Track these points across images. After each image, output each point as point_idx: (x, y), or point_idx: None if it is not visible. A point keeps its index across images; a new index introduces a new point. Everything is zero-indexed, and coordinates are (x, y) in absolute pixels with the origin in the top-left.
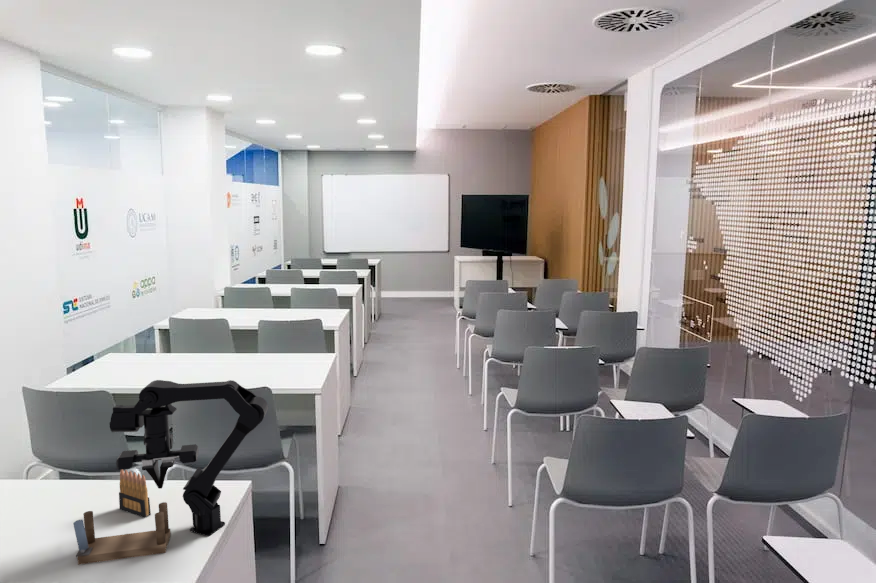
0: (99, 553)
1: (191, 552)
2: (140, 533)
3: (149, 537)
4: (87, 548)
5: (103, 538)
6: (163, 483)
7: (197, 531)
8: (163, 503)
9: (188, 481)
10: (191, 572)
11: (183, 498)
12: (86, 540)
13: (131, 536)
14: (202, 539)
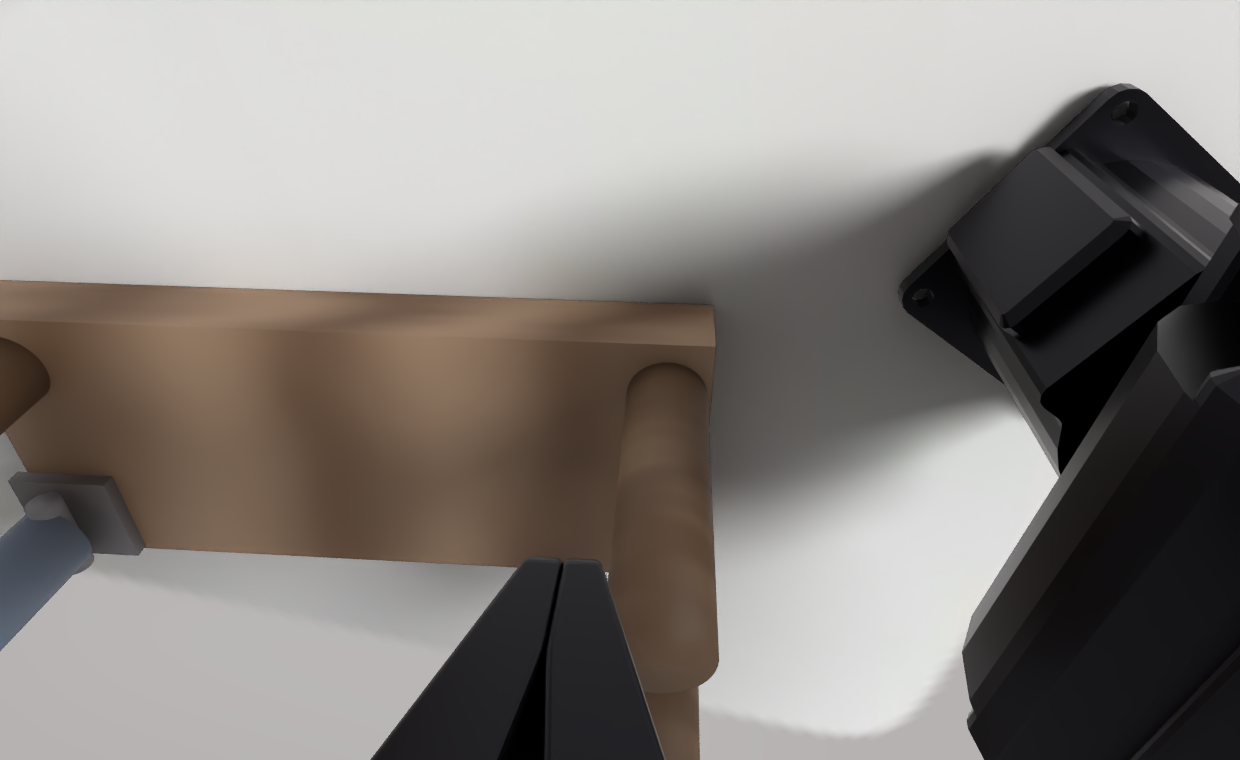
0: (213, 544)
1: (885, 568)
2: (429, 355)
3: (539, 441)
4: (91, 552)
5: (98, 345)
6: (617, 614)
7: (973, 350)
8: (664, 642)
9: (1232, 756)
10: (869, 725)
11: (968, 681)
12: (37, 601)
13: (361, 384)
14: (993, 437)
